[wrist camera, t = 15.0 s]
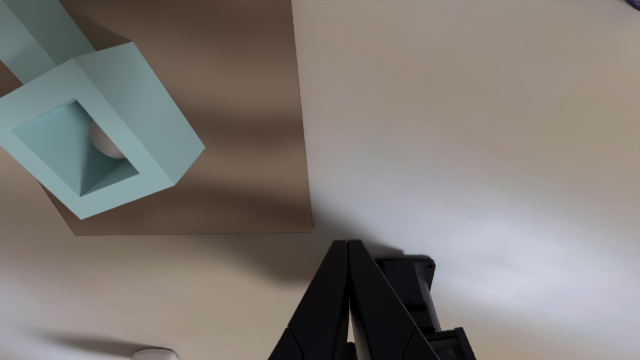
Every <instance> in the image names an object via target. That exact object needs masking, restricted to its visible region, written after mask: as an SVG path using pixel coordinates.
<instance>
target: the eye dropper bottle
mask: <svg viewBox="0 0 640 360" xmlns="http://www.w3.org/2000/svg"><path fill="white" fill-rule="evenodd" d="M130 360H179V358H178V357H177V355H176V354H175V353H174V352H173V351H171V350H167V349H156V348H153V349H144V350H140V351H137V352H136V353H134V355H133V356H132V357H131V359H130Z"/></svg>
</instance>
